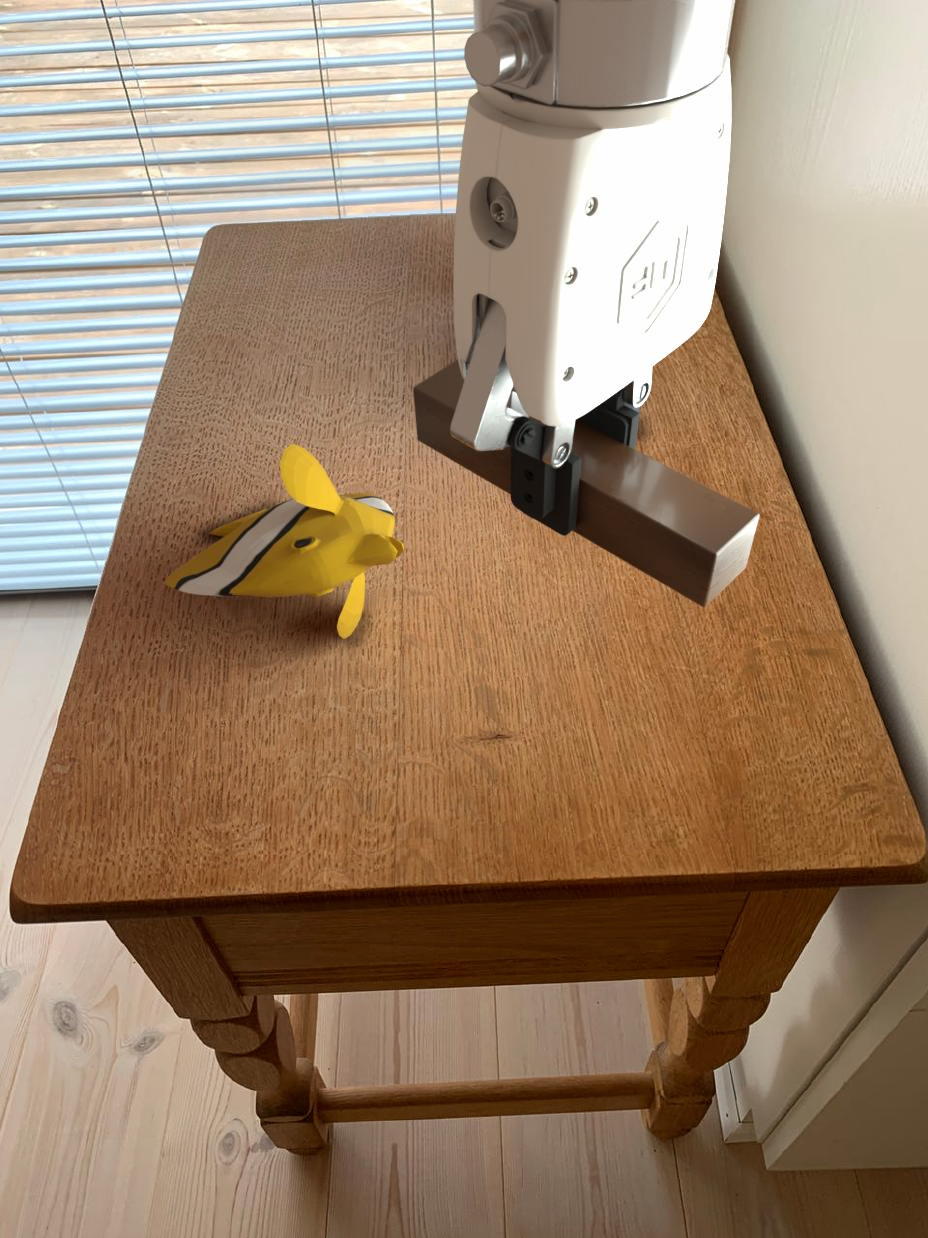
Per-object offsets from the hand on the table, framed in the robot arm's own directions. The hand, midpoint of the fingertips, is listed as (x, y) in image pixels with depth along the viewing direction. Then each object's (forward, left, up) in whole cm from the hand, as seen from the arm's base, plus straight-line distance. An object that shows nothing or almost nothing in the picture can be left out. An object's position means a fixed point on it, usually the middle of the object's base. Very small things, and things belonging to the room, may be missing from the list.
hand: (571, 492), depth 43 cm
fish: (+16, -13, -19) cm, 28 cm away
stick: (0, 0, 0) cm, 0 cm away
